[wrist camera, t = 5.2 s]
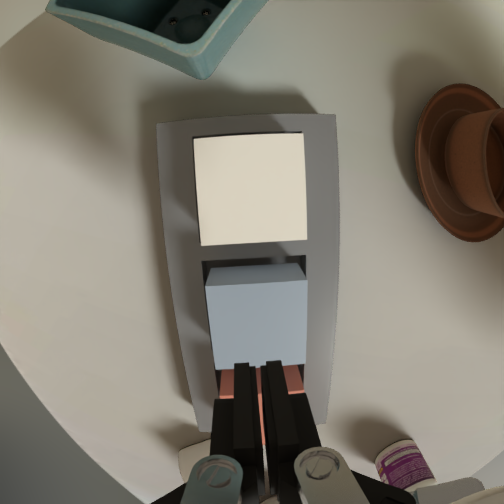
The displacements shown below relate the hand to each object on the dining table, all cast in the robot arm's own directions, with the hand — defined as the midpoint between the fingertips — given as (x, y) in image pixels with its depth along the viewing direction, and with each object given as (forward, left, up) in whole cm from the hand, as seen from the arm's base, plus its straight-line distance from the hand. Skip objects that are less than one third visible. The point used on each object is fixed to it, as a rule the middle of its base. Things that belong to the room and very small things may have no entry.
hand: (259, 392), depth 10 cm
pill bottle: (-15, +22, -11) cm, 29 cm away
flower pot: (+3, -18, -11) cm, 21 cm away
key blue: (0, 0, -8) cm, 8 cm away
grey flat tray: (0, 0, -10) cm, 10 cm away
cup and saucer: (-17, -9, -11) cm, 22 cm away
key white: (0, -7, -8) cm, 11 cm away
